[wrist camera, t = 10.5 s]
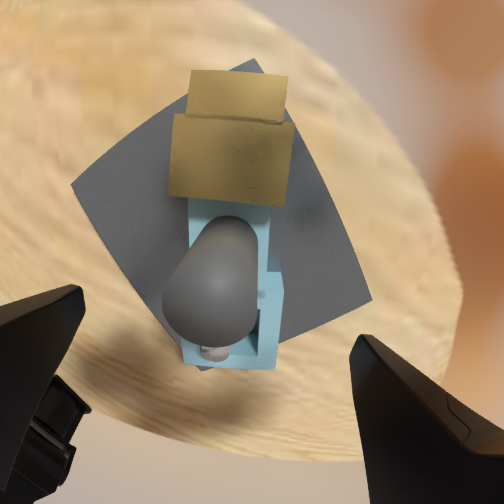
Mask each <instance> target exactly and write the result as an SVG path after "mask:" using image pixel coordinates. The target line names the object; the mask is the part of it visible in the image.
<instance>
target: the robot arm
mask: <svg viewBox="0 0 504 504" xmlns="http://www.w3.org/2000/svg"><path fill="white" fill-rule="evenodd" d="M85 310H86V308H85V301H84V295H83V290H82V288H81V287H80V286H77V285H73V284H69V285H66V286H63V287H60V288H56V289H53V290H50V291H47V292H43V293H40V294H37V295H34V296H31V297H27V298H24V299H21V300H18V301H15V302H12V303H9V304H5V305H2V306H0V504H33V503H34V502H35V501H37V500H39V499H41V498H43V497H46V496H48V495H50V494H52V493H54V492H55V491H56V489H57V486H61V485H62V484H63V483H64V481H65V480H66V478H67V476H68V474H69V471H70V467H71V464H72V461H73V458H74V455H75V452H76V447H75V446H72V445H71V444H69V442H70V440H71V438H72V436H73V434H74V432H75V430H76V428H77V426H78V424H79V422H80V420H81V418H82V416H83V415H84V414H89V413H91V411H92V410H91V408H90V407H88V406H87V405H86V404H85V403H84V402H83V401H82V400H81V399H80V398H79V397H78V396H77V395H76V394H75V393H74V392H73V391H72V390H71V389H70V388H69V387H68V386H67V385H66V384H65V383H64V382H63V381H62V380H61V379H60V378H59V377H58V376H57V375H54V374H55V372H56V370H57V368H58V366H59V365H60V363H61V361H62V359H63V358H64V356H65V354H66V352H67V350H68V348H69V346H70V344H71V342H72V340H73V338H74V336H75V333H76V331H77V329H78V327H79V325H80V323H81V321H82V319H83V317H84V315H85ZM349 363H350V372H351V382H352V393H353V401H354V406H355V411H356V416H357V422H358V427H359V432H360V438H361V444H362V450H363V456H364V462H365V469H366V475H367V482H368V490H369V498H370V504H504V430H503V429H501V428H499V427H497V426H496V425H494V424H493V423H491V422H490V421H488V420H487V419H485V418H484V417H482V416H481V415H479V414H477V413H476V412H474V411H473V410H471V409H470V408H468V407H467V406H465V405H464V404H463V403H461V402H460V401H458V400H457V399H456V398H454V397H453V396H452V395H451V394H449V393H448V392H446V391H445V390H444V389H443V388H441V387H440V386H439V385H437V384H436V383H435V382H433V381H432V380H431V379H430V378H428V377H427V376H426V375H424V374H423V373H422V372H420V371H419V370H418V369H416V368H415V367H414V366H412V365H411V364H410V363H408V362H407V361H406V360H404V359H403V358H402V357H400V356H399V355H398V354H397V353H395V352H394V351H393V350H391V349H390V348H389V347H387V346H386V345H385V344H383V343H382V342H381V341H379V340H378V339H377V338H375V337H374V336H373V335H368V334H361V335H359V336H358V338H357V340H356V342H355V344H354V346H353V348H352V351H351V353H350V356H349Z"/></svg>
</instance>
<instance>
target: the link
mask: <svg viewBox="0 0 504 504" xmlns="http://www.w3.org/2000/svg"><path fill="white" fill-rule="evenodd" d="M270 208H271V206H267V205H259V204H250V203H241V202H231V201H221V200H211V199H200V198H188V220H189V248H190V249H189V250H188V252H187V253H186V255H185V256H184V258H183V259H182V261H181V263H180V264H179V266H178V267H177V269H176V270H175V272H174V273H173V275H172V277H171V278H170V280H169V281H168V283H167V285H166V286H165V288H164V291H163V294H162V310H163V313H164V316H165V318H166V320H167V322H168V324H169V325H170V327H171V328H172V329H173V330H174V331H175V332H176V333H177V334H178V335H180V339H181V346H182V353H183V360H184V364H190V365H199V366H210V367H222V368H237V369H258V370H275V365H276V358H277V350H278V341H279V333H280V324H281V315H282V306H283V297H284V288H283V281H282V275H281V272H267V259H268V243H269V226H270ZM257 309H259V322H258V334H256V333H250V332H251V330H252V329H253V327H254V325H255V322H256V319H257ZM202 346H204V347H211V348H218V347H226V346H230V352H229V356H228V358H227V359H226V360H224V361H221V362H213V361H210V360H208V359H206V358H205V357H204V356H203V355H202V353H201V347H202Z"/></svg>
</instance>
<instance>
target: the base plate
mask: <svg viewBox="0 0 504 504" xmlns="http://www.w3.org/2000/svg"><path fill="white" fill-rule="evenodd" d="M287 82H288V77H286V76H279V75H271V74H264V72H263V71H262V69H261V67H260V66H259V64H258V63H257V61H256V60H255V58H254V59H251V60H249V61H247V62H245V63H243V64H241V65H239V66H237V67H235V68H233V69H231V70H229V71H220V70H191V77H190V84H189V91H188V94H186V95H185V96H183V97H181V98H180V99H178V100H177V101H175V102H173V103H172V104H170V105H169V106H167V107H166V108H164V109H163V110H161V111H160V112H158V113H157V114H155V115H154V116H153V117H151V118H150V119H148V120H147V121H146V122H144V123H143V124H141V125H140V126H139V127H137V128H136V129H135V130H133V131H132V132H131V133H129V134H128V135H127V136H126V137H124V138H123V139H122V140H120V141H119V142H118V143H117V144H115V145H114V146H113V147H112V148H111V149H109V150H108V151H107V152H106V153H105V154H103V155H102V156H101V157H100V158H99V159H98V160H96V161H95V162H94V163H93V164H92V165H91V166H90V167H89V168H87V169H86V170H85V171H84V172H83V173H82V174H81V175H80V176H79V177H78V178H77V179H76V180H75V181H74V182H73V183H72V184H71V186H72V188H73V190H74V192H75V194H76V196H77V198H78V199H79V201H80V203H81V205H82V207H83V208H84V210H85V212H86V214H87V215H88V217H89V219H90V221H91V222H92V224H93V226H94V227H95V229H96V231H97V232H98V234H99V236H100V237H101V239H102V241H103V242H104V244H105V245H106V247H107V248H108V250H109V252H110V253H111V255H112V256H113V258H114V259H115V261H116V262H117V264H118V265H119V267H120V268H121V270H122V271H123V273H124V274H125V276H126V277H127V278H128V280H129V281H130V283H131V284H132V286H133V287H134V288H135V290H136V291H137V292H138V294H139V295H140V297H141V298H142V299H143V301H144V302H145V303H146V305H147V306H148V307H149V309H150V310H151V311H152V313H153V314H154V315H155V316H156V318H157V319H158V320H159V322H160V323H161V324H162V325H163V327H164V328H165V329H166V330H167V332H168V333H169V334H170V335H171V337H172V338H173V339H174V340H175V341H176V343H177V344H178V345H179V346H180V347H181V349H182V346H181V339H180V335H178V334H177V333H176V332H175V331H174V330H173V329H172V328H171V327H170V325H169V324H168V322H167V320H166V318H165V316H164V313H163V310H162V294H163V291H164V288H165V286H166V285H167V283H168V281H169V280H170V278H171V277H172V275H173V273H174V272H175V270H176V269H177V267H178V266H179V264H180V263H181V261H182V259H183V258H184V256H185V255H186V253H187V252H188V250H189V249H190V248H189V220H188V198H200V199H211V200H221V201H231V202H241V203H250V204H259V205H267V206H271V208H270V226H269V243H268V259H267V272H281V275H282V281H283V288H284V297H283V306H282V315H281V324H280V333H279V341H278V344H279V343H281V342H284V341H286V340H288V339H291V338H293V337H296V336H298V335H300V334H303V333H305V332H307V331H309V330H312V329H314V328H316V327H318V326H321V325H323V324H325V323H327V322H329V321H331V320H334V319H336V318H338V317H340V316H342V315H344V314H346V313H348V312H350V311H352V310H354V309H356V308H358V307H360V306H362V305H364V304H366V303H368V302H370V301H372V297H371V294H370V292H369V289H368V286H367V283H366V280H365V278H364V275H363V272H362V270H361V267H360V264H359V262H358V259H357V257H356V254H355V252H354V249H353V247H352V244H351V242H350V239H349V237H348V234H347V232H346V230H345V227H344V225H343V223H342V220H341V218H340V216H339V213H338V211H337V209H336V207H335V204H334V202H333V200H332V198H331V196H330V193H329V191H328V189H327V187H326V185H325V183H324V181H323V179H322V177H321V174H320V172H319V170H318V168H317V166H316V164H315V162H314V160H313V158H312V156H311V154H310V152H309V151H308V149H307V147H306V145H305V143H304V141H303V139H302V137H301V135H300V134H299V132H298V130H297V128H296V126H295V123H293V121H292V119H291V117H290V115H289V114H288V112H287V110H286V108H285V100H286V91H287ZM258 322H259V309H257V319H256V322H255V325H254V327H253V329H252V330H251V332H250V333H256V334H258ZM196 366H197V367H198V368H199V369H200V370H201V371H205V370H208V369H211V368H214V367H210V366H199V365H196Z"/></svg>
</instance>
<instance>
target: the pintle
mask: <svg viewBox="0 0 504 504" xmlns="http://www.w3.org/2000/svg"><path fill="white" fill-rule="evenodd" d="M229 352H230V346H226V347H218V348H211V347H204V346H202V347H201V353H202V355H203V356H204V357H205V358H206V359H208V360H210V361H213V362H221V361H224V360H226V359H227V358H228V356H229Z"/></svg>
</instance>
